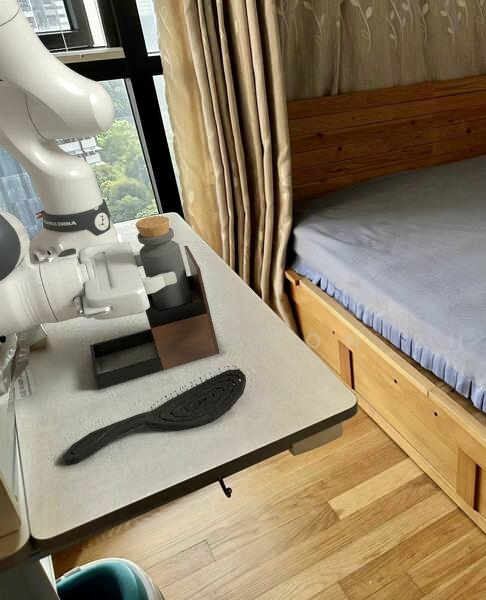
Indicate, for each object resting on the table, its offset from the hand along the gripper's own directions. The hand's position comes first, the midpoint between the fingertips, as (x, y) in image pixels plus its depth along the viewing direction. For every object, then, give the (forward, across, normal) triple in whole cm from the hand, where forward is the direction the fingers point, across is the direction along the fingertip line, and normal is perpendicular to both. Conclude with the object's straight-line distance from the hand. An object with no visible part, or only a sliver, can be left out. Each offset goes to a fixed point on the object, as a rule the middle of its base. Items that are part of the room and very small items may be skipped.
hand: (170, 265), depth 86 cm
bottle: (-1, 0, +8) cm, 8 cm away
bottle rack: (-6, 0, +15) cm, 16 cm away
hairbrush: (-8, -18, +16) cm, 25 cm away
